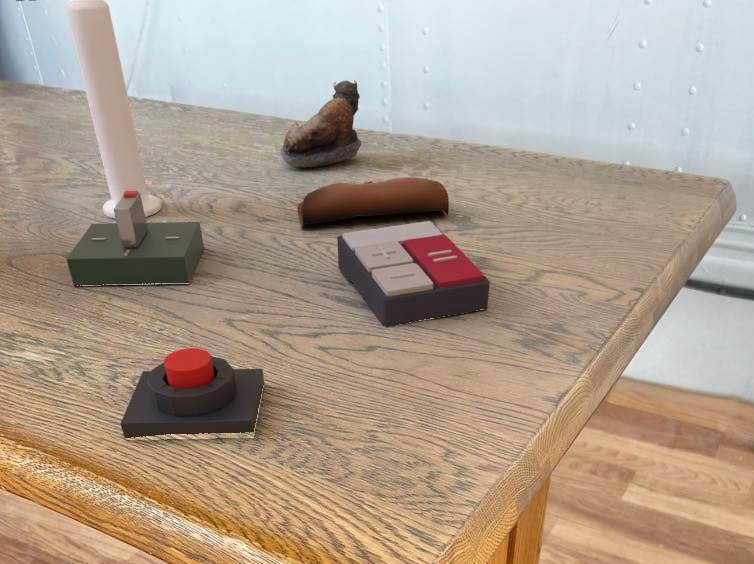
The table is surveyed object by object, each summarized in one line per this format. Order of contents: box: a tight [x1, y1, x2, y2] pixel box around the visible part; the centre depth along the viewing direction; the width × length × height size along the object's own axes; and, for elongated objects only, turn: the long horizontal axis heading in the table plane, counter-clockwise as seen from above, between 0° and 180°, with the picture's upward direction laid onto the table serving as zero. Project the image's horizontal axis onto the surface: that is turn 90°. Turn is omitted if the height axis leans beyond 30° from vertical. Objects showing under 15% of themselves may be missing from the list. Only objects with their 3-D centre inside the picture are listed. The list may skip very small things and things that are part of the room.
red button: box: [163, 347, 215, 389], centre depth 63 cm, size 4×4×2 cm
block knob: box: [114, 191, 148, 248], centre depth 84 cm, size 5×2×4 cm, turn 1°
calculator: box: [336, 220, 491, 328], centre depth 82 cm, size 11×4×15 cm
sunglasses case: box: [297, 176, 450, 229], centre depth 98 cm, size 18×7×7 cm
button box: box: [120, 355, 265, 439], centre depth 64 cm, size 10×8×4 cm
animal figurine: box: [279, 79, 362, 168], centre depth 112 cm, size 12×7×10 cm, turn 117°
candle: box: [65, 0, 162, 220], centre depth 93 cm, size 7×7×25 cm
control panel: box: [66, 221, 205, 287], centre depth 87 cm, size 12×10×3 cm
